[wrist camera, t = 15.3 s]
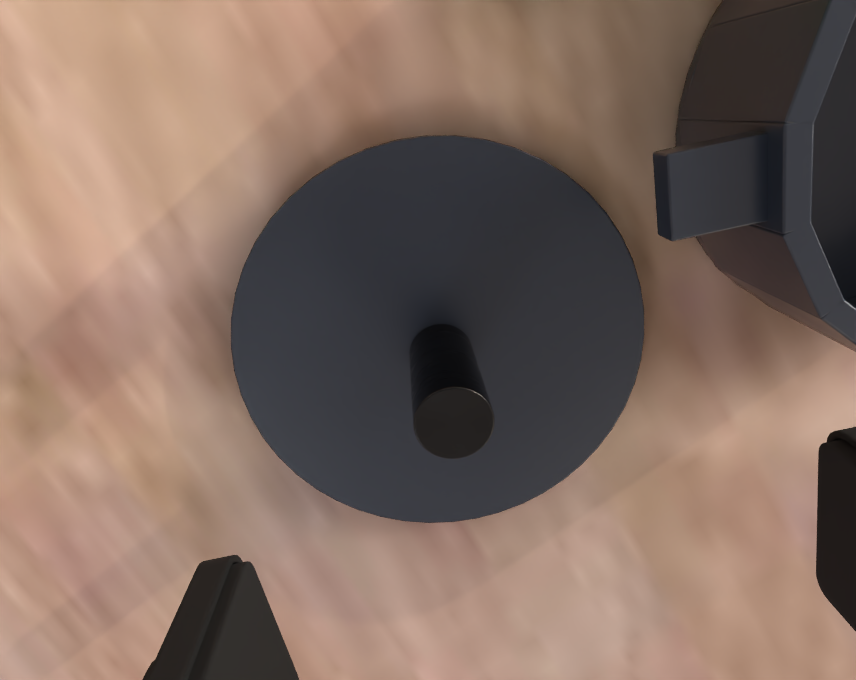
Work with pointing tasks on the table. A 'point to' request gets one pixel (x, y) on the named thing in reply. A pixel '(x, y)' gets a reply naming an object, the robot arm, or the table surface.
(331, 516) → the table surface
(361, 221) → the pot lid
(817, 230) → the pot
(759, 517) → the table surface
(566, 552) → the table surface
